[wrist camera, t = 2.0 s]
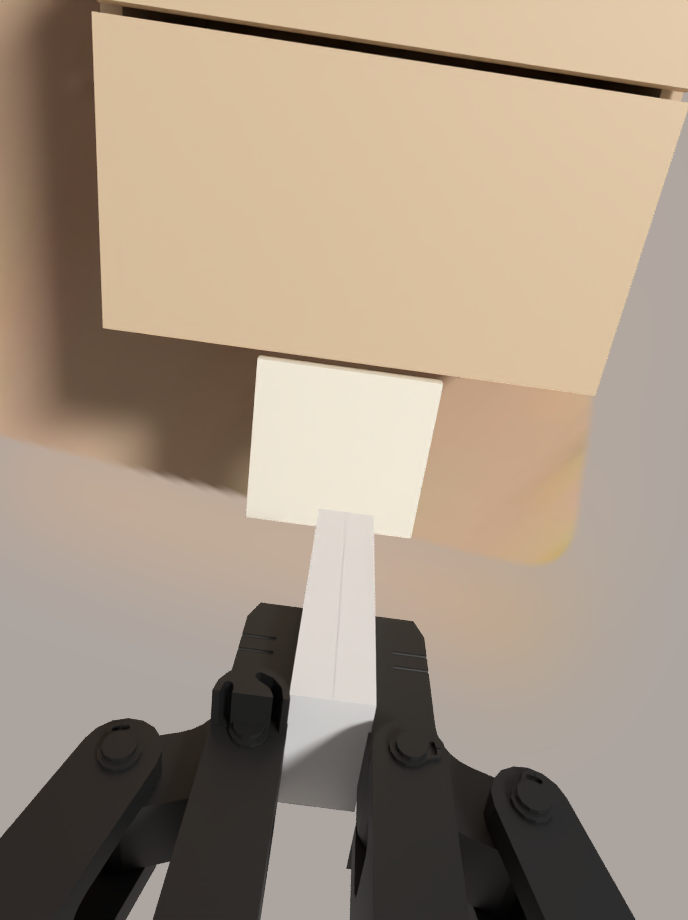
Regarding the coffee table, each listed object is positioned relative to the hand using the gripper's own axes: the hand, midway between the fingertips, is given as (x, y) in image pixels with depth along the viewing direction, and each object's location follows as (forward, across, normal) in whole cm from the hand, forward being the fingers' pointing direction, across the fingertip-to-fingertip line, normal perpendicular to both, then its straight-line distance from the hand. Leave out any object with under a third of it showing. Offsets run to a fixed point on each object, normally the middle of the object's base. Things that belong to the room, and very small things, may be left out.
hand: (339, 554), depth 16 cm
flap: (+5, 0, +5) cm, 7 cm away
